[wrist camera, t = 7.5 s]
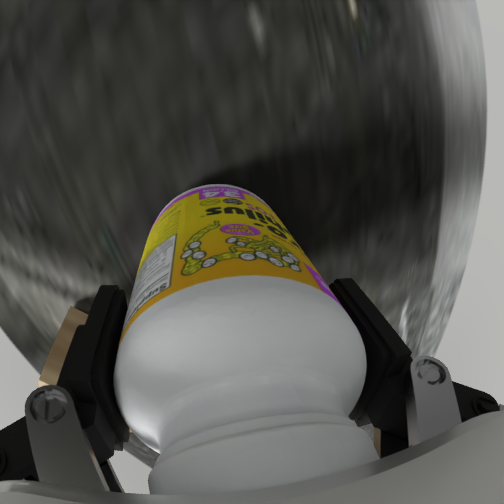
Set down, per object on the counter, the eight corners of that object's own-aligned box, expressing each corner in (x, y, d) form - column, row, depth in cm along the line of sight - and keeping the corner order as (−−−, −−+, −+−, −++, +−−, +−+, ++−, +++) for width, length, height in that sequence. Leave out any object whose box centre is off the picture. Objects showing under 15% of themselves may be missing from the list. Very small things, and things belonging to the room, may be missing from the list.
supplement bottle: (304, 231, 16) (467, 444, 5) (226, 317, 18) (279, 543, 6) (202, 151, 13) (266, 414, 2) (125, 258, 15) (64, 523, 3)
